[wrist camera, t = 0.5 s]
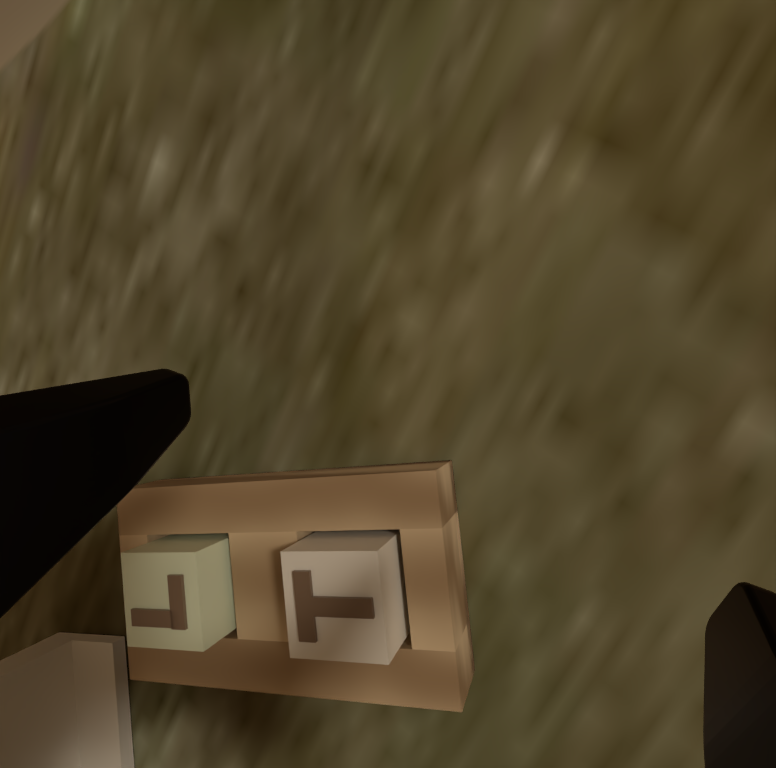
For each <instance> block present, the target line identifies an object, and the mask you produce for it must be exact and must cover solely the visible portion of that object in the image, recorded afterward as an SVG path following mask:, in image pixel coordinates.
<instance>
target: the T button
mask: <svg viewBox="0 0 776 768" xmlns="http://www.w3.org/2000/svg"><path fill="white" fill-rule="evenodd" d="M280 554H281V565H282V576H283V587H284V598H285V609H286V619H287V630H288V641H289V652H290V658H298V659H312V660H327V661H341V662H355V663H369V664H383V665H389V664H390V662H391V661H392V659H393V658H394V656H395V654H396V653H397V651H398V650H399V648H400V647H401V645H402V643H403V642H404V640H405V639H406V637H407V635H408V634H409V632H410V624H409V614H408V604H407V595H406V585H405V576H404V566H403V556H402V547H401V537H400V529H389V530H344V531H316V532H314V533H312V534H310V535H309V536H307V537H305V538H303V539H302V540H300V541H298V542H296V543H295V544H293V545H291V546H289V547H288V548H286V549H284V550H282V551H280Z"/></svg>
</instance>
